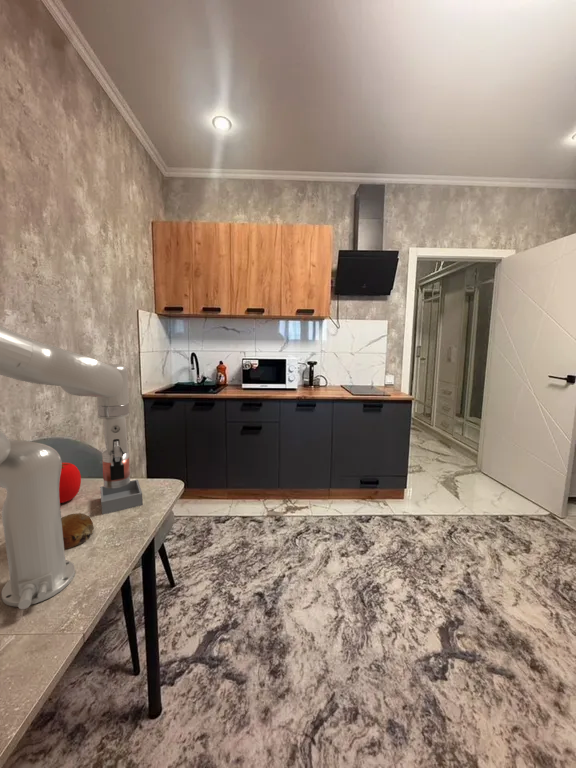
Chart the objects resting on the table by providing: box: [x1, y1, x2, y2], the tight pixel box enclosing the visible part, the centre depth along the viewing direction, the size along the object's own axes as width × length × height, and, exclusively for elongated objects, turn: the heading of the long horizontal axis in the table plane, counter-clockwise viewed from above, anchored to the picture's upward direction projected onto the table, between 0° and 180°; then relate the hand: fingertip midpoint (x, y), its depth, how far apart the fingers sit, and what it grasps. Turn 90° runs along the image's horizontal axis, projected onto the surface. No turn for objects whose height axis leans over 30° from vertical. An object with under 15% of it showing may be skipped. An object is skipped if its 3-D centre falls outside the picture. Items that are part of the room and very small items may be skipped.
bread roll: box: [61, 512, 94, 550], centre depth 87 cm, size 10×10×8 cm
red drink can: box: [101, 449, 131, 488], centre depth 90 cm, size 6×6×9 cm
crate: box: [99, 479, 144, 515], centre depth 105 cm, size 11×11×4 cm
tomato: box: [59, 462, 82, 504], centre depth 105 cm, size 12×12×13 cm
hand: (116, 473), depth 90 cm, fingers closed on red drink can, 6 cm apart
